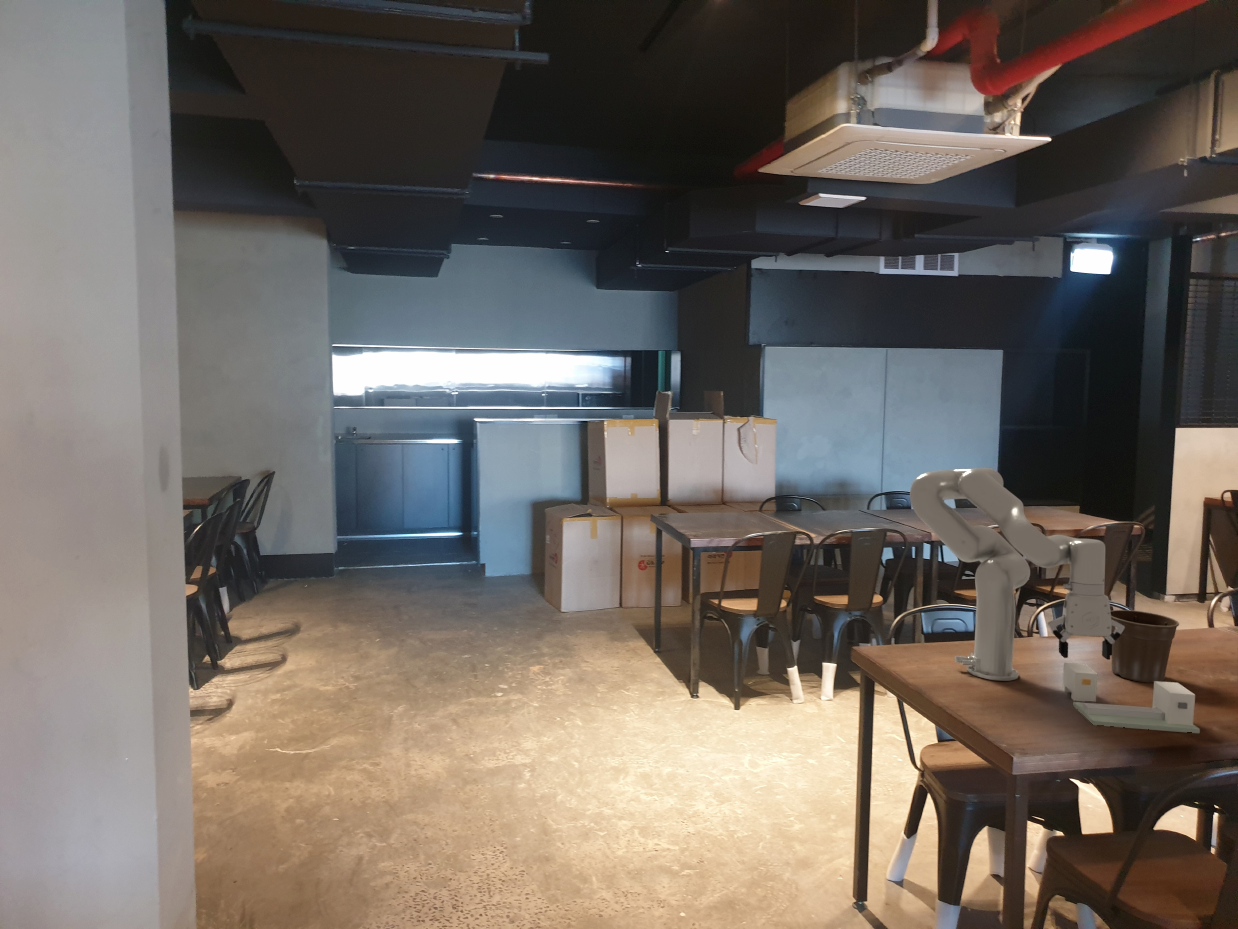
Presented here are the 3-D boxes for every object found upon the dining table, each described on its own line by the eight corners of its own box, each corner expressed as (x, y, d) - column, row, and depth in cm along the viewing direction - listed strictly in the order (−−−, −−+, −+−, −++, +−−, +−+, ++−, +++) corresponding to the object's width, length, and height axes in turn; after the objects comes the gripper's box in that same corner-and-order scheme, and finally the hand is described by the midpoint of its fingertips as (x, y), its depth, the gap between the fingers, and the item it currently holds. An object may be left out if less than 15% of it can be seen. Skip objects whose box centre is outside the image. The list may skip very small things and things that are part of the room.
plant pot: (1168, 671, 227) (1173, 614, 226) (1180, 690, 212) (1184, 628, 211) (1100, 662, 234) (1104, 606, 232) (1107, 680, 219) (1111, 620, 218)
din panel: (1092, 725, 188) (1095, 690, 187) (1073, 706, 200) (1075, 673, 199) (1199, 733, 184) (1202, 698, 184) (1173, 713, 196) (1175, 680, 196)
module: (1074, 701, 203) (1076, 673, 202) (1062, 689, 211) (1063, 662, 211) (1096, 703, 202) (1098, 674, 202) (1083, 691, 211) (1085, 663, 210)
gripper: (1054, 591, 202) (1052, 660, 203) (1131, 593, 199) (1129, 663, 200) (1044, 585, 210) (1042, 651, 211) (1118, 587, 207) (1116, 654, 208)
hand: (1085, 657), depth 206 cm, fingers open, 9 cm apart
